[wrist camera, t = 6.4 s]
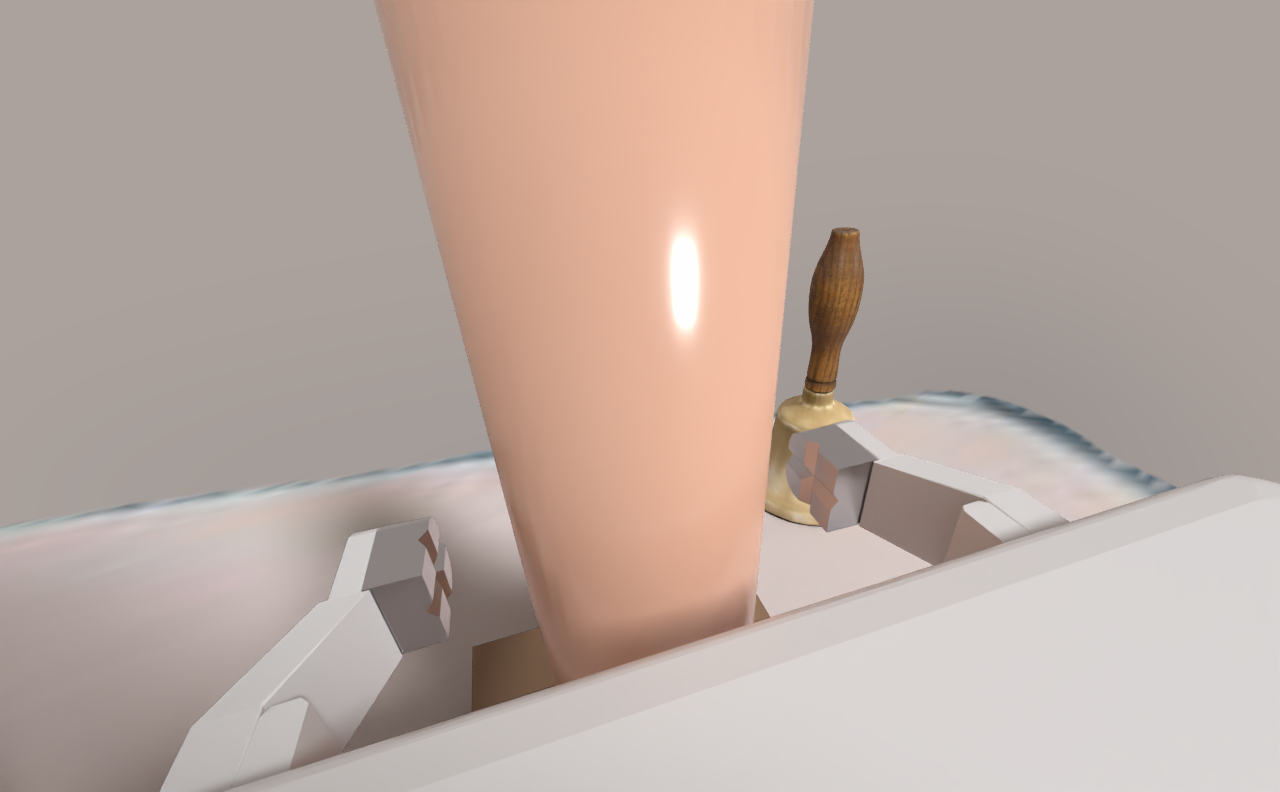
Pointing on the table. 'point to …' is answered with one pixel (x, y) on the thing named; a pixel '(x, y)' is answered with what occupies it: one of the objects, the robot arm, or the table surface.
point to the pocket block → (521, 666)
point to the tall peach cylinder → (616, 287)
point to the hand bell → (818, 365)
